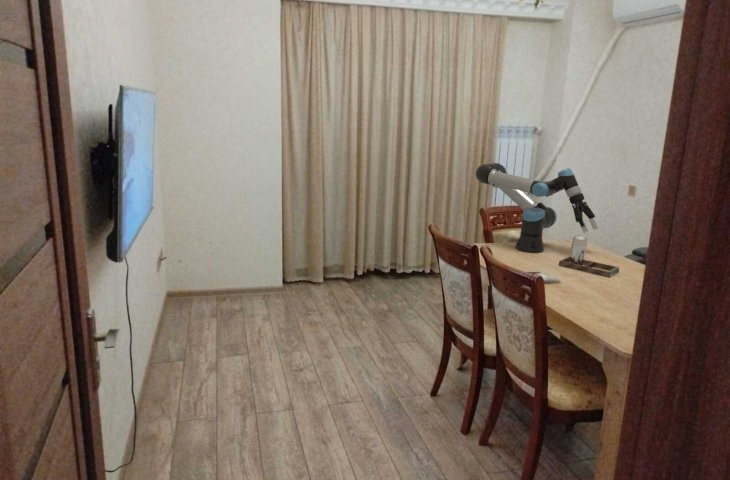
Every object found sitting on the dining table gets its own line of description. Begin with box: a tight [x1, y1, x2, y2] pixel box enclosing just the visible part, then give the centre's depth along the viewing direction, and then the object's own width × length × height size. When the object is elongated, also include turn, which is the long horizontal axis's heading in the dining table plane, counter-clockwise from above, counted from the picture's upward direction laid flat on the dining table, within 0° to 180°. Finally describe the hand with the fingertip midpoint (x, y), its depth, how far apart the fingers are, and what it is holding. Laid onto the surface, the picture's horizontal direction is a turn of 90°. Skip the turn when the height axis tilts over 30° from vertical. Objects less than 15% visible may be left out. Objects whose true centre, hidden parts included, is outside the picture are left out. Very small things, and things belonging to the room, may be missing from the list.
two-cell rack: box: [558, 256, 620, 278], centre depth 258 cm, size 25×13×2 cm, turn 46°
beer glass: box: [570, 235, 588, 266], centre depth 261 cm, size 7×7×15 cm
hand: (591, 230), depth 279 cm, fingers open, 13 cm apart
